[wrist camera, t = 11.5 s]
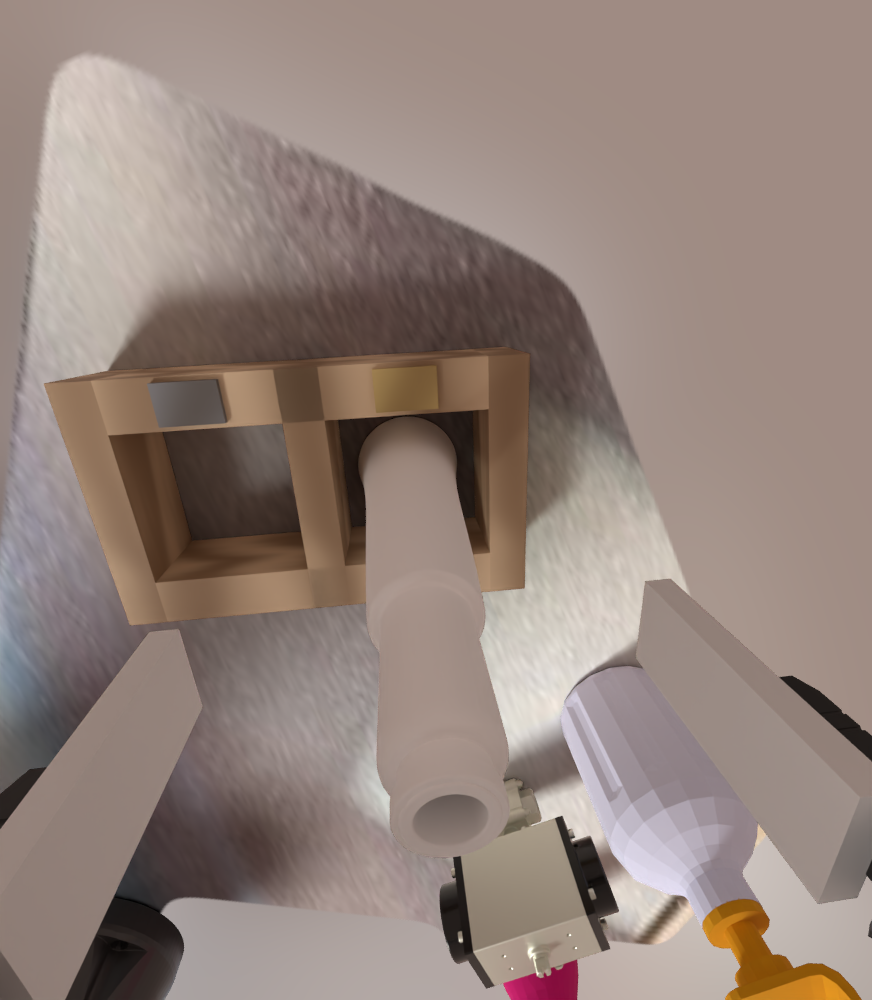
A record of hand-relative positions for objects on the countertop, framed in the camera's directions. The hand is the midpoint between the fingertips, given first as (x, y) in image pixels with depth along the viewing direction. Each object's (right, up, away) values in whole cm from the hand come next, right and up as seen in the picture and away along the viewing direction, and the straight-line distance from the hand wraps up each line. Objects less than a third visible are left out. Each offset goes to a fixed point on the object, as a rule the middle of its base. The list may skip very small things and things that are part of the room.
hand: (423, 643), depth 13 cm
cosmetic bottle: (-1, +6, +16) cm, 17 cm away
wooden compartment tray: (-6, +6, +15) cm, 17 cm away
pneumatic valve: (+6, -22, +28) cm, 36 cm away
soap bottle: (+15, -13, +25) cm, 32 cm away
